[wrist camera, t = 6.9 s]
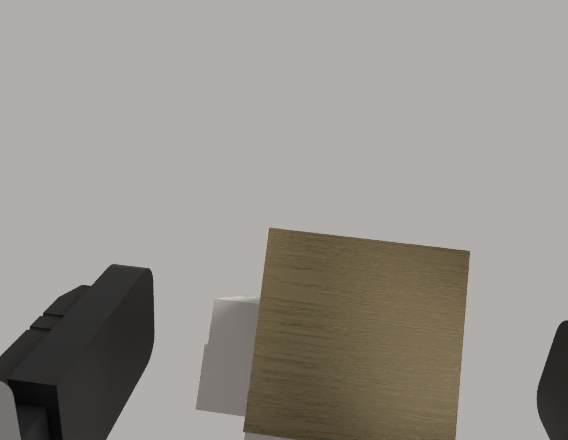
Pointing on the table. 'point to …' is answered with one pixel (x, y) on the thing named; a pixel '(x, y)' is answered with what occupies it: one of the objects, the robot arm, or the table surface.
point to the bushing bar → (357, 339)
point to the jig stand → (230, 358)
